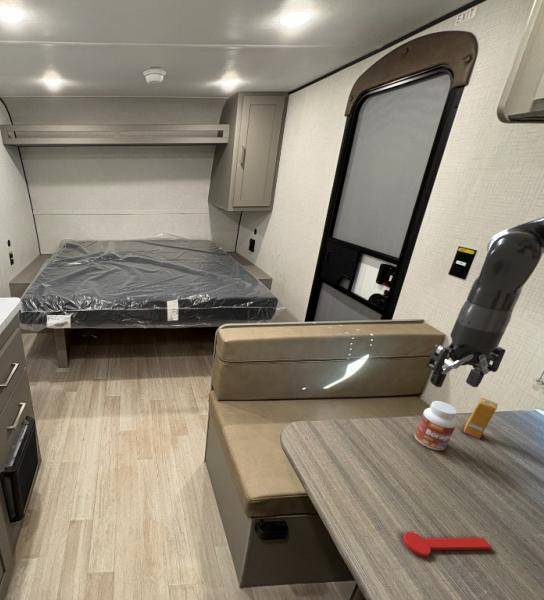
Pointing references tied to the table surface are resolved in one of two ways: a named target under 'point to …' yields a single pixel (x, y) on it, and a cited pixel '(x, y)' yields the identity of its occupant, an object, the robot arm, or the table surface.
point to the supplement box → (480, 417)
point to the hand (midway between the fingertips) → (453, 385)
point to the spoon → (442, 544)
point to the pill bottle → (436, 425)
